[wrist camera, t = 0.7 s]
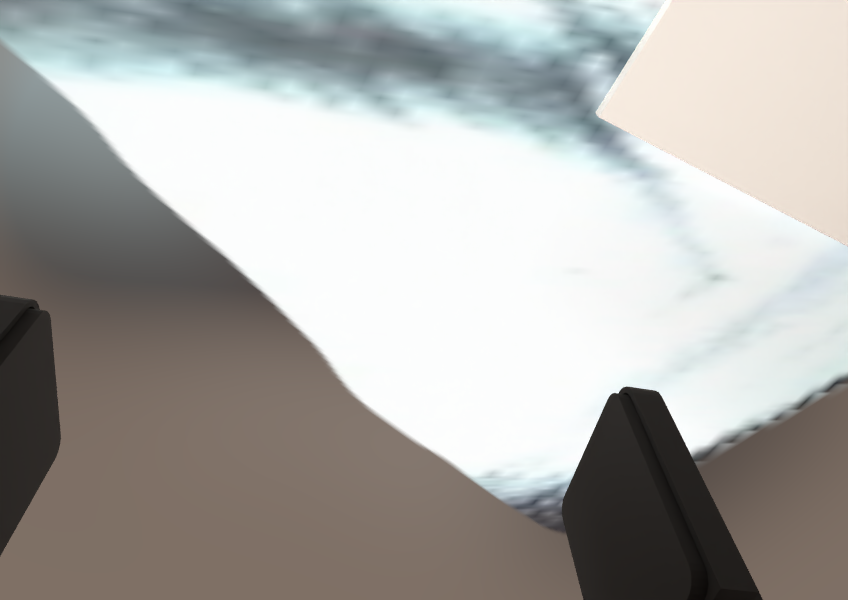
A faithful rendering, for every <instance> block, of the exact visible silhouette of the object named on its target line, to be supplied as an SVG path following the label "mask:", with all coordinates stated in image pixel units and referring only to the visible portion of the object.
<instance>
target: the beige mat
mask: <svg viewBox="0 0 848 600" xmlns="http://www.w3.org/2000/svg"><path fill="white" fill-rule="evenodd" d="M596 114H597V115H598V117H599V118H601V119H603V120H605V121H607V122H609V123H611V124H613V125H615V126H617V127H619V128H621V129H623V130H624V131H626V132H628V133H630V134H632V135H634V136H636V137H638V138H640V139H642V140H644V141H646V142H648V143H650V144H651V145H653V146H655V147H657V148H659V149H661V150H663V151H665V152H667V153H669V154H671V155H673V156H675V157H677V158H678V159H680V160H682V161H684V162H686V163H688V164H690V165H692V166H694V167H696V168H698V169H700V170H702V171H704V172H705V173H707V174H709V175H711V176H713V177H715V178H717V179H719V180H721V181H723V182H725V183H727V184H729V185H731V186H733V187H734V188H736V189H738V190H740V191H742V192H744V193H746V194H748V195H750V196H752V197H754V198H756V199H758V200H760V201H761V202H763V203H765V204H767V205H769V206H771V207H773V208H775V209H777V210H779V211H781V212H783V213H785V214H787V215H788V216H790V217H792V218H794V219H796V220H798V221H800V222H802V223H804V224H806V225H808V226H810V227H812V228H814V229H815V230H817V231H819V232H821V233H823V234H825V235H827V236H829V237H831V238H833V239H835V240H837V241H839V242H841V243H842V244H844V245H846V246H848V0H665V2H664V4H663V5H662V7H661V8H660V10H659V12H658V13H657V15H656V17H655V18H654V20H653V21H652V23H651V25H650V26H649V28H648V29H647V31H646V33H645V34H644V36H643V37H642V39H641V41H640V42H639V44H638V45H637V47H636V49H635V50H634V52H633V53H632V55H631V57H630V58H629V60H628V61H627V63H626V65H625V66H624V68H623V69H622V71H621V73H620V74H619V76H618V77H617V79H616V81H615V82H614V84H613V85H612V87H611V89H610V90H609V92H608V94H607V95H606V97H605V98H604V100H603V102H602V103H601V105H600V106H599V108H598V110H597V111H596Z"/></svg>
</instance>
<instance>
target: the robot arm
mask: <svg viewBox="0 0 848 600" xmlns="http://www.w3.org/2000/svg"><path fill="white" fill-rule="evenodd" d="M60 439H61V435H60V422H59V411H58V399H57V387H56V376H55V365H54V353H53V341H52V329H51V319H50V315H49V313H48V312H47V311H42V310H40V309H39V305H38V304H37V301H35V300H32V299H25V298H18V297H11V296H3V295H0V555H1V553H2V552H3V550H4V548H5V547H6V545H7V543H8V541H9V539H10V538H11V536H12V534H13V532H14V531H15V529H16V527H17V525H18V523H19V522H20V520H21V518H22V516H23V515H24V513H25V511H26V509H27V508H28V506H29V504H30V502H31V501H32V499H33V497H34V495H35V493H36V492H37V490H38V488H39V487H40V485H41V483H42V481H43V479H44V478H45V476H46V474H47V472H48V471H49V469H50V467H51V465H52V463H53V462H54V460H55V458H56V456H57V453H58V450H59V446H60ZM562 517H563V521H564V525H565V529H566V533H567V537H568V540H569V545H570V549H571V553H572V557H573V560H574V564H575V568H576V572H577V576H578V580H579V584H580V588H581V592H582V596H583V599H584V600H762V597H761V595H760V594H759V591H758V589H757V587H756V585H755V583H754V581H753V579H752V577H751V575H750V573H749V571H748V569H747V567H746V565H745V563H744V561H743V559H742V557H741V555H740V553H739V551H738V549H737V547H736V545H735V543H734V541H733V539H732V537H731V535H730V533H729V531H728V529H727V527H726V525H725V523H724V521H723V519H722V517H721V515H720V513H719V511H718V509H717V507H716V505H715V503H714V501H713V499H712V497H711V495H710V493H709V491H708V489H707V487H706V485H705V483H704V481H703V479H702V477H701V475H700V473H699V471H698V469H697V467H696V465H695V463H694V461H693V459H692V457H691V455H690V452H689V450H688V448H687V446H686V444H685V442H684V440H683V438H682V436H681V434H680V432H679V430H678V428H677V426H676V424H675V422H674V420H673V418H672V416H671V414H670V412H669V410H668V408H667V406H666V404H665V402H664V400H663V398H662V396H661V395H660V394H659V392H657V391H653V390H647V389H640V388H633V387H623V388H622V389H621V390H620V392H619V393H618V394H617V393H613V394H611V395H610V397H609V398H608V400H607V402H606V405H605V407H604V409H603V411H602V414H601V416H600V418H599V420H598V422H597V425H596V427H595V429H594V431H593V434H592V436H591V438H590V440H589V442H588V445H587V447H586V449H585V451H584V454H583V456H582V458H581V460H580V463H579V465H578V467H577V469H576V471H575V474H574V476H573V478H572V480H571V483H570V485H569V487H568V489H567V491H566V494H565V496H564V499H563V504H562Z"/></svg>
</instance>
